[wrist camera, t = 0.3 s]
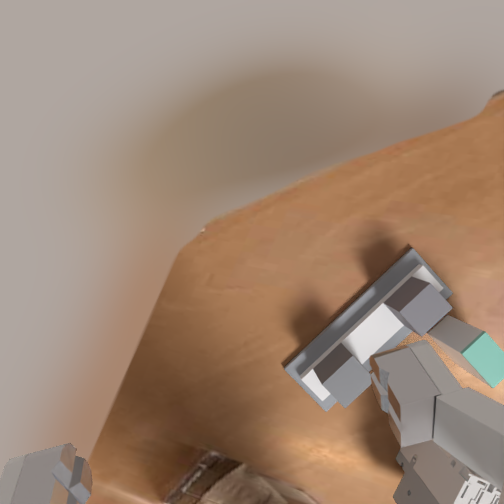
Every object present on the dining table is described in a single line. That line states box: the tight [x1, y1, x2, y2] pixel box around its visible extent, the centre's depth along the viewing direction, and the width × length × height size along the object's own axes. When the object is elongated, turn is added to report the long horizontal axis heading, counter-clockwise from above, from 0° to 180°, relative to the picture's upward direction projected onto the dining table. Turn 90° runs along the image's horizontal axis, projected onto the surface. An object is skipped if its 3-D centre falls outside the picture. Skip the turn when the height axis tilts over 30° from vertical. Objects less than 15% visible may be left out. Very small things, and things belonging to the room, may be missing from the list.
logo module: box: [427, 315, 504, 388], centre depth 63 cm, size 4×7×10 cm, turn 43°
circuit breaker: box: [393, 439, 501, 504], centre depth 62 cm, size 8×14×15 cm, turn 155°
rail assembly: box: [284, 248, 453, 412], centre depth 63 cm, size 10×28×8 cm, turn 133°
